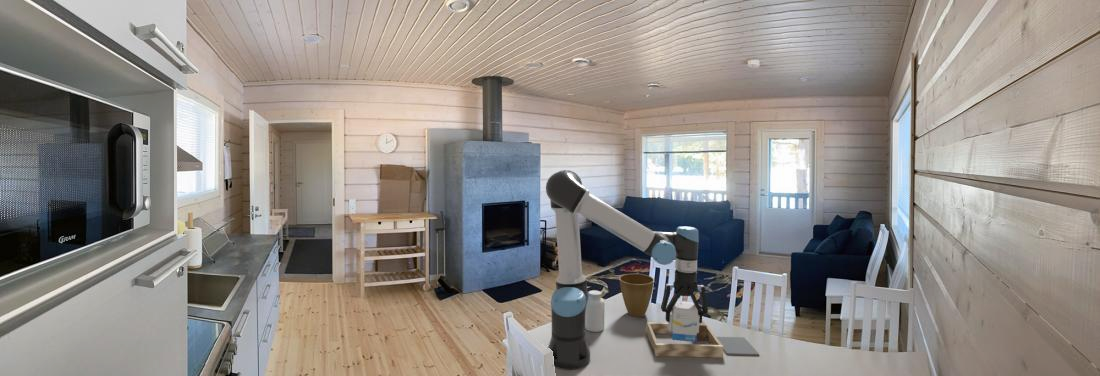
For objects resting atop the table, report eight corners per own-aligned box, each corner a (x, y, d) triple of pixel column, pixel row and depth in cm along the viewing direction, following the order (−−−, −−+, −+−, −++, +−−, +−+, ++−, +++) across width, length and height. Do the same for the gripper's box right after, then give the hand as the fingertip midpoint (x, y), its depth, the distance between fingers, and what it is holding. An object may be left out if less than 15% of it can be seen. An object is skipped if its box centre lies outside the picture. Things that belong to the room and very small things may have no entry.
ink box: (696, 342, 143) (698, 310, 142) (671, 340, 144) (673, 308, 143) (693, 332, 151) (694, 301, 150) (669, 329, 153) (671, 299, 152)
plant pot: (618, 307, 188) (618, 273, 187) (650, 308, 187) (651, 273, 185) (620, 320, 173) (620, 283, 172) (656, 321, 172) (656, 284, 170)
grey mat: (726, 354, 143) (726, 353, 143) (714, 338, 156) (714, 336, 156) (759, 355, 142) (759, 354, 142) (744, 338, 155) (744, 337, 155)
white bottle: (607, 326, 167) (607, 291, 165) (599, 334, 160) (599, 297, 159) (590, 322, 171) (590, 287, 170) (581, 329, 164) (581, 293, 163)
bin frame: (655, 355, 143) (655, 344, 142) (646, 332, 161) (646, 322, 161) (723, 357, 141) (723, 346, 141) (705, 333, 160) (706, 323, 159)
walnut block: (694, 340, 154) (694, 325, 154) (690, 335, 159) (691, 320, 158) (706, 340, 154) (706, 325, 153) (702, 335, 158) (703, 320, 158)
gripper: (657, 271, 143) (654, 333, 145) (720, 274, 141) (717, 336, 143) (653, 266, 150) (651, 325, 152) (713, 268, 149) (710, 327, 151)
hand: (683, 330), depth 148 cm, fingers closed on ink box, 9 cm apart
